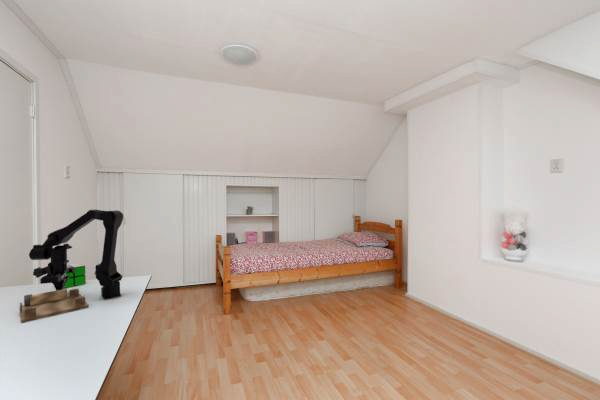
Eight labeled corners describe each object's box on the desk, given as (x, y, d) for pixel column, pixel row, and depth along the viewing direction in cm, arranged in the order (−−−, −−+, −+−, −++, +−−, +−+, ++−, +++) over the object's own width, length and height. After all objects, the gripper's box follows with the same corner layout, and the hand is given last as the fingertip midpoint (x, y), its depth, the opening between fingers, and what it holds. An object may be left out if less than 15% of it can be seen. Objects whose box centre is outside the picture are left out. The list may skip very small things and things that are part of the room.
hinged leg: (24, 306, 116) (24, 296, 116) (24, 304, 118) (23, 295, 118) (67, 298, 126) (67, 289, 126) (66, 296, 128) (66, 287, 128)
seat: (80, 296, 132) (80, 287, 132) (88, 307, 118) (88, 297, 118) (19, 308, 118) (19, 298, 118) (21, 323, 104) (21, 311, 104)
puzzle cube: (79, 281, 158) (78, 263, 158) (85, 284, 152) (85, 265, 152) (55, 285, 150) (55, 266, 150) (62, 289, 144) (61, 269, 144)
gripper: (47, 256, 136) (48, 289, 136) (24, 265, 118) (25, 302, 118) (75, 254, 139) (76, 286, 139) (57, 262, 122) (57, 299, 122)
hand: (59, 293), depth 130 cm, fingers closed
